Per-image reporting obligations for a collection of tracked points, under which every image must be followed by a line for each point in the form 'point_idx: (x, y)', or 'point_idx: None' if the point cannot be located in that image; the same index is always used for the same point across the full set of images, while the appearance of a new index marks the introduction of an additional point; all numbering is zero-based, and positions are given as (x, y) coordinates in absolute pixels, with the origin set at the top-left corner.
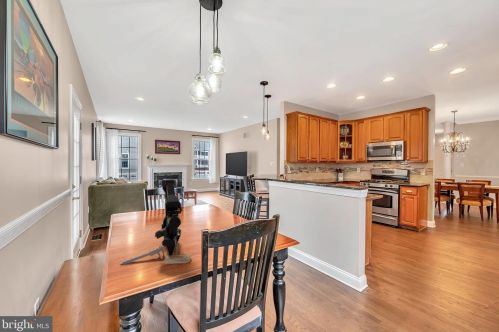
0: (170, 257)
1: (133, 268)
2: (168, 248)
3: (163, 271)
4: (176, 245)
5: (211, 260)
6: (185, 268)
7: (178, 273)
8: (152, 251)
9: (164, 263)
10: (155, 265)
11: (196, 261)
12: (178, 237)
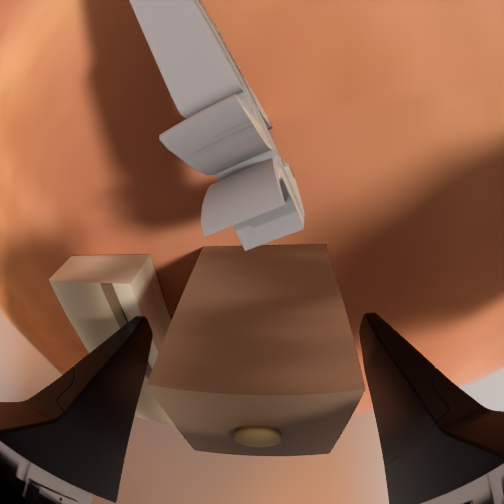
0: (107, 327)
1: (9, 20)
2: (58, 398)
3: (12, 274)
4: (224, 453)
5: None
6: None
7: (37, 345)
8: (136, 7)
9: (69, 259)
10: (37, 179)
11: None
12: (393, 499)
